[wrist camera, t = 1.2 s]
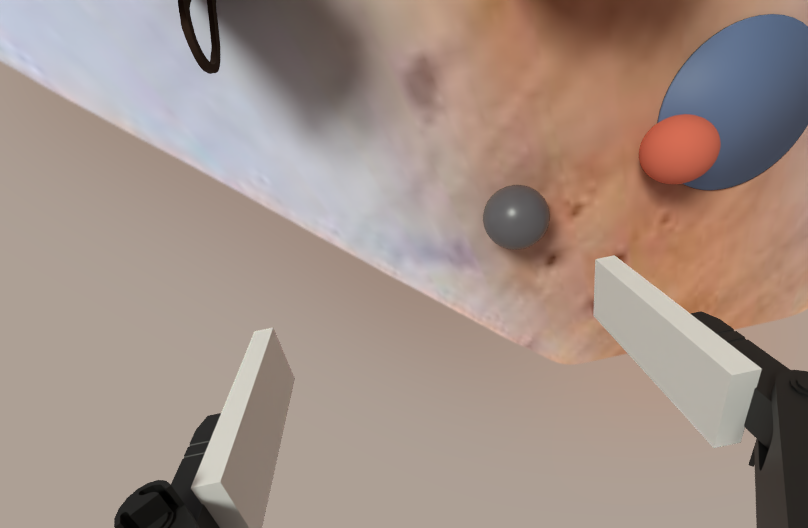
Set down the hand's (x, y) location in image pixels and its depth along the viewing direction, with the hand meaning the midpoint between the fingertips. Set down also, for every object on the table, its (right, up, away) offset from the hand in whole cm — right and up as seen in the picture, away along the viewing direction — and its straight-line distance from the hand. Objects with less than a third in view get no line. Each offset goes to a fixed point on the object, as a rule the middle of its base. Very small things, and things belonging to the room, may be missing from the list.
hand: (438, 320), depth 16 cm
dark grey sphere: (+8, +6, +18) cm, 21 cm away
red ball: (+21, +12, +17) cm, 29 cm away
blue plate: (+27, +16, +18) cm, 36 cm away
